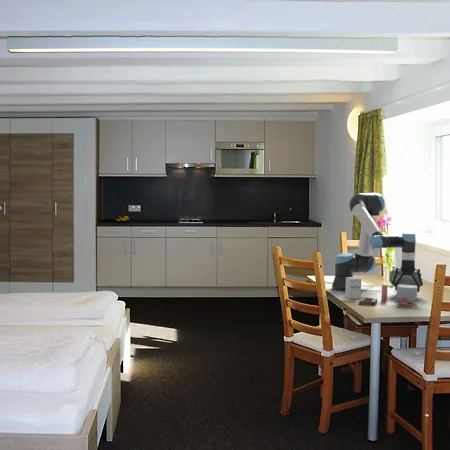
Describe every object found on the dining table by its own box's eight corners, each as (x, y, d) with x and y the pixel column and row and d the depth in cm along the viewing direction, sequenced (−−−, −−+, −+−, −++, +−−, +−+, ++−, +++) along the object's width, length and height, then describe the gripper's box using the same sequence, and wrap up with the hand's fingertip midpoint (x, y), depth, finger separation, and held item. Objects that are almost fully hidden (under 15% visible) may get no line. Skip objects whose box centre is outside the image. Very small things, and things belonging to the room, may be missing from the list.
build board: (361, 301, 377) (362, 297, 377) (377, 302, 374) (377, 298, 373) (359, 304, 366) (359, 300, 366) (374, 305, 363) (374, 302, 363)
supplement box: (349, 299, 381) (350, 278, 380) (344, 297, 388) (345, 276, 387) (361, 299, 383) (361, 278, 382) (356, 296, 390) (356, 276, 389)
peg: (381, 300, 378) (382, 284, 377) (387, 301, 377) (387, 284, 376) (381, 301, 375) (381, 285, 374) (386, 302, 374) (387, 285, 373)
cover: (399, 295, 377) (399, 284, 377) (416, 297, 374) (416, 285, 373) (397, 298, 368) (397, 287, 368) (415, 300, 365) (415, 288, 364)
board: (398, 305, 366) (398, 294, 366) (412, 306, 363) (413, 295, 363) (397, 307, 359) (397, 297, 358) (411, 308, 356) (412, 298, 356)
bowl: (399, 299, 382) (399, 275, 381) (382, 293, 401) (383, 270, 399) (427, 298, 387) (428, 274, 386) (410, 292, 406) (411, 269, 405)
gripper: (387, 259, 370) (386, 296, 371) (428, 261, 362) (426, 299, 363) (389, 257, 377) (388, 294, 378) (428, 259, 369) (427, 297, 370)
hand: (407, 296), depth 371 cm, fingers closed on cover, 10 cm apart
